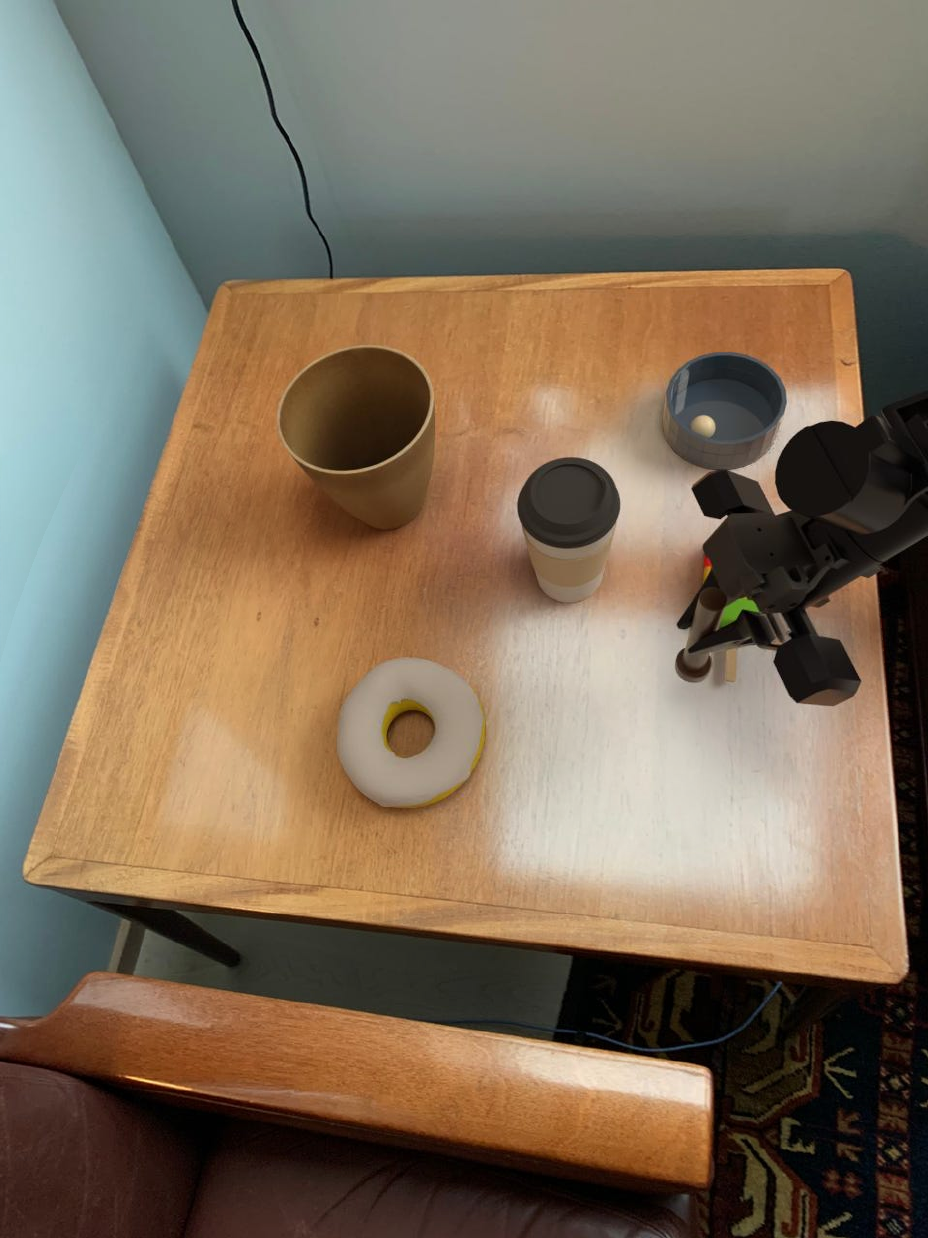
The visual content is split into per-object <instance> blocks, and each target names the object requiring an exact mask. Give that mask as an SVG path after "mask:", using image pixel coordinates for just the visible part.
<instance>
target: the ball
mask: <svg viewBox="0 0 928 1238" xmlns="http://www.w3.org/2000/svg"><path fill="white" fill-rule="evenodd" d="M690 429H691V430H692V431H693V432H696V433H698V434H700V435H703V436H705V437H708V438H710V437H712V435H713V434H714V432H715V422H714V421H713V419H712V418H710V417H709V416H706V415H701V416H698V417H696V418H695V419H694V420H693V421H692V422H691V424H690Z"/></svg>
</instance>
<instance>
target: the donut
mask: <svg viewBox="0 0 928 1238" xmlns="http://www.w3.org/2000/svg"><path fill="white" fill-rule="evenodd" d="M407 711H418V712H419V711H420V712H422V713H424V714H426V715H427V716H428V717H429V718H430V719H431V720H432V722H433V725H434V729H435V730H434V735H433V738H432V739H431V742H430V743H429V745H428V746H427V747H425V749H423V751H421V752H420V753H417V754H415V755H412V756H408V757H402V756H400V755H397V754H396V752H395V751H393V750H392V749H391V747H390V746H389V743H388V738H387V736H388V729H389V727H390V725H391V723H392V722H393V720H394V719H396V718H397V716H399V715H401V714H402V713H404V712H407ZM486 726H487V725H486V717H485V711H484V707H483V704H482V701H481V699H480V697H479V695H478V693H477V692H476V689H475V688H474V687H473V686H472V685H471V683H469V682H468V681H467V680H466V679H465V678H464V677H462V676H460V675H459V674H458V673H456V672H455V671H454V670H452V669H451V668H448V667H446V666H444V665H442V664H440V663H438V662H435V661H433V660H431V659H426V658H420V657H407V656H404V657H403V656H402V657H396V658H392V659H389V660H385V661H383V662H381V663H379V664H377V665H376V666H374V667H372V669H370V670H369V671H368V672H367V673H365V675H364V676H363V677H362V678H361V679H360V680H359V681H358V683H356V685H355V686H354V687H353V688H352V689H351V690H350V692H349V694H348V696H346V699H345V700H344V702H343V705H342V707H341V709H340V712H339V717H338V721H337V739H336V752H337V756H338V760H339V762H340V764H341V767H342V768H343V770H344V772H345V774H346V776H347V778H349V780H350V781H351V783H352V784H353V785H354V787H355V788H356V789H357V790H358V791H359V792H360V793H361V794H362V795H364V796H365V797H367V798H368V799H369V800H371V801H373V802H374V803H376V804H378V805H379V806H381V807H383V808H397V809H416V808H423V807H427V806H431V805H433V804H437V803H439V802H440V801H442V800H444V799H446V798H447V797H450V795H452V794H453V793H454V792H456V791H457V790H458V789H459V788H460V787H461V786H462V785H463V784H464V783H465V782H466V781H467V780H468V779H469V778H470V777H471V774H472V772H473V771H474V770H475V768H476V766H477V764H478V763H479V760H480V758H481V756H482V753H483V750H484V746H485V743H486V741H485V740H486Z"/></svg>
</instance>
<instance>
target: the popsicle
mask: <svg viewBox="0 0 928 1238" xmlns="http://www.w3.org/2000/svg"><path fill="white" fill-rule="evenodd" d="M702 570H703V571H702V576H703V577H702V584H703V583H704V582H705V580H706V578H707V576H708V574H709V572H710V570H711V562H710V560H709V559H708V558H706V556H705V554H704V553H703V569H702ZM743 609H745V610H750V611H755V612H759V610H758V608H757V606H756V604H755V603H754V601H752V600H748V599H747V597H744V598H741V599H738V600H736V601H735V602H733V603H731V604H730V605H728V606H727V607H725V610H724V613H723V616H722V619H721V622H720V625H719V628H722V627H724V626H726V625H728V624H730V623H732V622H733V621H735V620H736V619H737V617H738V615H739V614H740V612H741V610H743ZM737 670H738V648H733V649H727V650H725V672H724V673H725V675H724V677H725V681H726V682H729V683H734V682H736V681H737V677H738V671H737Z"/></svg>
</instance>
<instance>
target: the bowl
mask: <svg viewBox="0 0 928 1238" xmlns="http://www.w3.org/2000/svg"><path fill="white" fill-rule="evenodd" d="M787 403H788V399H787V389H786V387H785V385H784V383H783V381H782V379H781V377H780V376H779V374H778V373H777V372H776V371H775V370H774V369H773V368H772V367H771V366H770V365H769V364H766V362H764V361H762V360H761V359H759V358H756V357H754V356H751V355H748V354H746V353H740V352H734V351H714V352H710V353H706V354H701V355H699V356H697V357H694V358H692V359H690V360H688V361H686V362H685V363H684V364H683V365H681V366H680V367H679V368H678V369H677V370H676V371H675V372H674V374H673V375H672V377H670V379H669V382H668V384H667V388H666V391H665V400H664V406H663V413H662V431H663V434H664V437H665V439H666V442H667V443H668V445H669V446H670V448H671V449H672V450H673V451H674V452H675V453H676V454H677V455H678V456H679V457H681V458H682V459H683V460H685V461H686V462H689V463H690V464H692V465H694V466H698V467H700V468H704V469H708V470H717V469H726V470H729V471H730V470H734V469H740V468H744V467H746V466H748V465H751V464H753V463H755V462H756V461H758V460H760V459H761V458H762V457H764V456H765V455H766V454H767V453H768V452H769V450H770V449H771V448H772V447H773V445H774V443H775V441H776V439H777V436H778V434H779V430H780V427H781V425H782V421H783V419H784V416H785V412H786V409H787ZM701 415H706V416H709V417H710V418H712V419H713V421H714V422H715V432H714V434H713V435H712V437H710V438H708V437H705V436H703V435H700V434H698V433H696V432H693V431H692V430H691V429H690V424H691V422H692V421H693V420H694V419H695V418H696V417H698V416H701Z"/></svg>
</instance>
